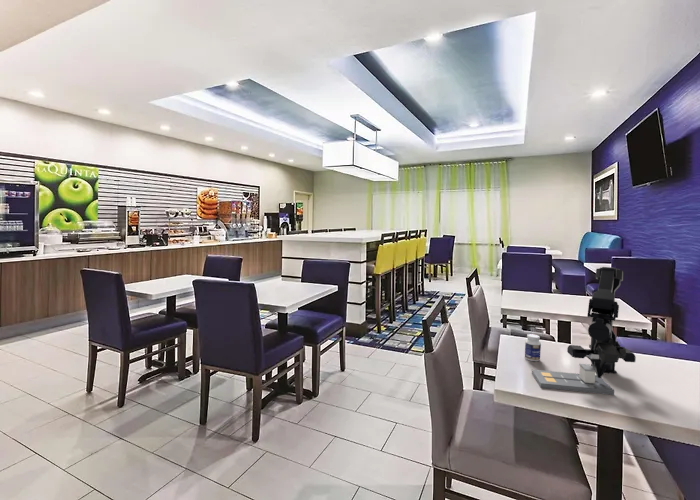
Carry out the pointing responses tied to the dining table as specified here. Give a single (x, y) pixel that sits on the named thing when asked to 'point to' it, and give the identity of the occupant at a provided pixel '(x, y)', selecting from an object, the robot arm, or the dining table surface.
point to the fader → (587, 373)
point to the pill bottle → (532, 347)
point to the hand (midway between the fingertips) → (599, 377)
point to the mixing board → (570, 382)
